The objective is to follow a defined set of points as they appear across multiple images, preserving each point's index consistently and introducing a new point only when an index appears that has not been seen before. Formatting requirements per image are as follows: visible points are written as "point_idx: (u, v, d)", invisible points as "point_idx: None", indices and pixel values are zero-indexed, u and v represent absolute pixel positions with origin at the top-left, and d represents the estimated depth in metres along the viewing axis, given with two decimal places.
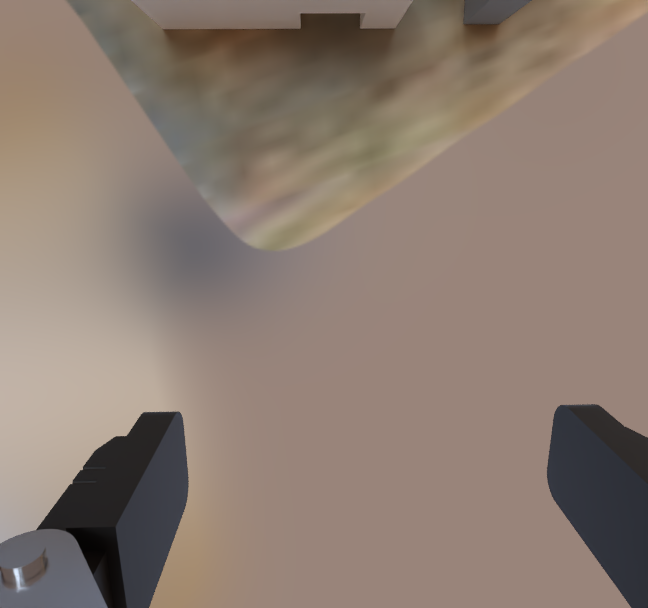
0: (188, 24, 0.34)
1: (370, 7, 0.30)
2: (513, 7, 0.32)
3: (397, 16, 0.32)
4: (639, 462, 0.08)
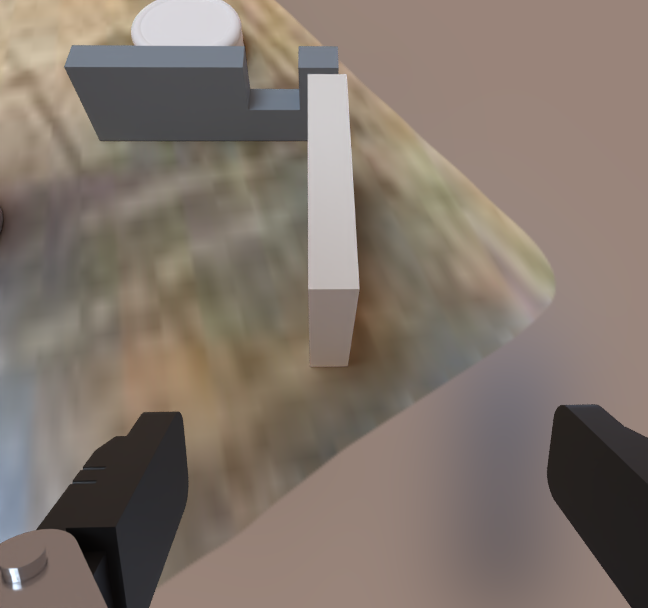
0: None
1: None
2: None
3: None
4: (639, 462, 0.08)
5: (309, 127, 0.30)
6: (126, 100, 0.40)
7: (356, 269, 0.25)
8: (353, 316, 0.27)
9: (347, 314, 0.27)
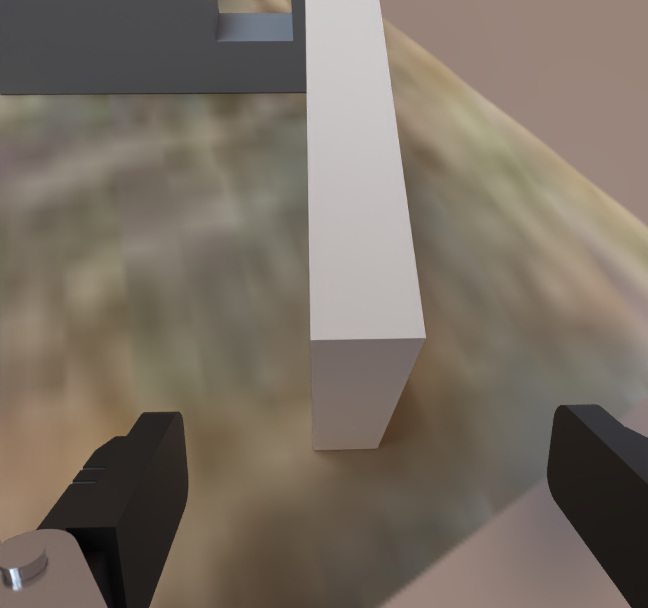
0: None
1: None
2: None
3: None
4: (639, 462, 0.08)
5: (308, 26, 0.16)
6: (27, 25, 0.26)
7: (415, 293, 0.12)
8: (401, 384, 0.14)
9: (389, 382, 0.13)
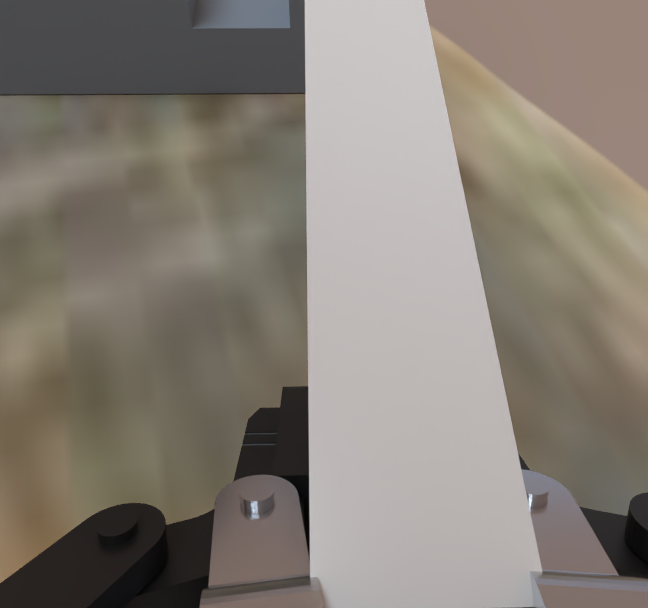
0: None
1: None
2: None
3: None
4: None
5: None
6: None
7: (517, 491, 0.06)
8: None
9: None
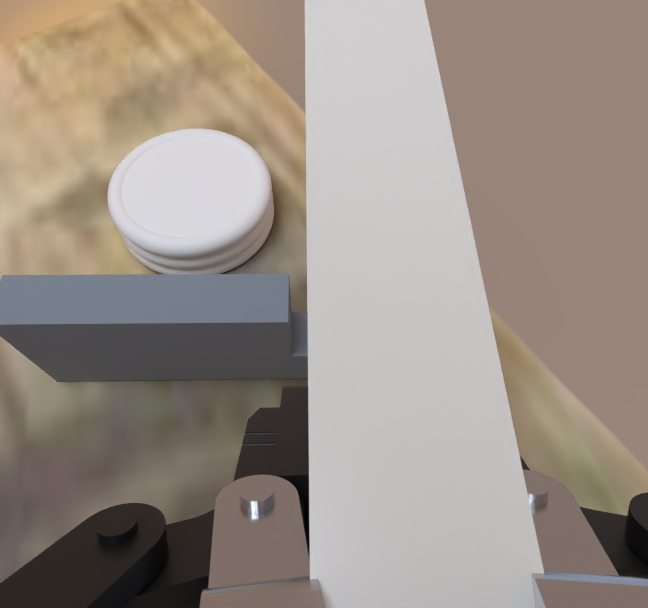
0: None
1: None
2: None
3: None
4: None
5: None
6: (95, 351, 0.24)
7: (519, 496, 0.06)
8: None
9: None
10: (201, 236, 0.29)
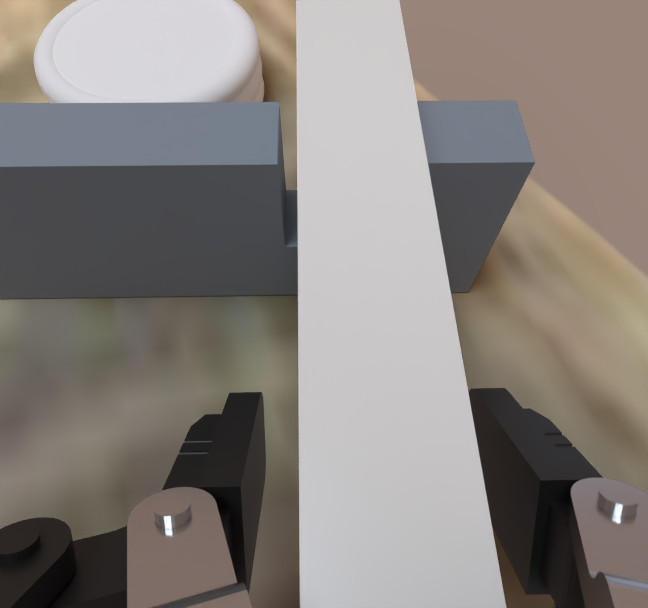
0: None
1: None
2: None
3: None
4: (522, 437, 0.09)
5: (301, 55, 0.11)
6: None
7: (488, 552, 0.06)
8: None
9: None
10: (160, 100, 0.21)
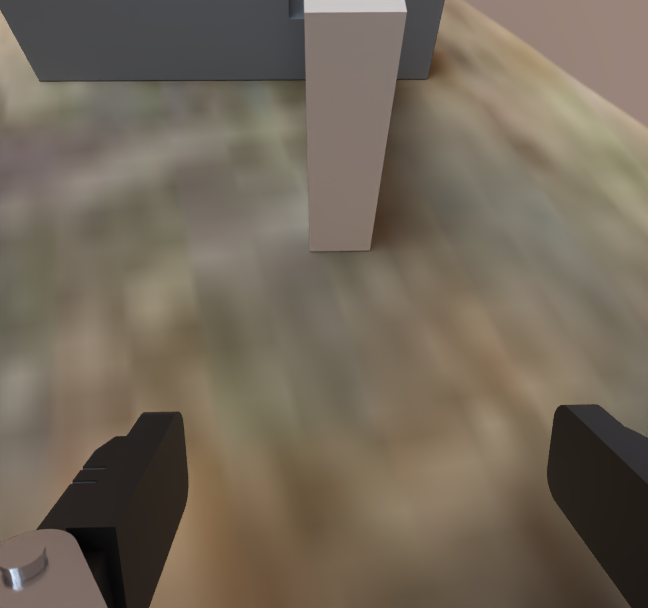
0: None
1: None
2: None
3: None
4: (639, 462, 0.08)
5: None
6: (76, 0, 0.23)
7: None
8: (388, 110, 0.15)
9: (376, 104, 0.15)
10: None
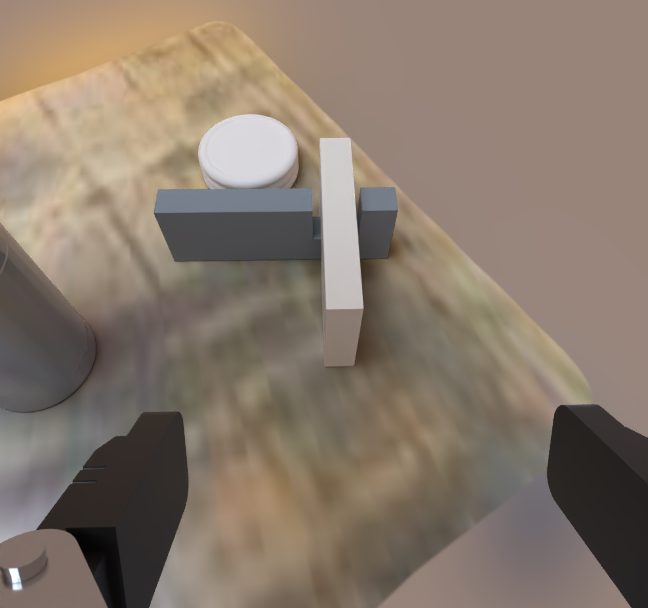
0: None
1: None
2: None
3: None
4: (639, 462, 0.08)
5: (322, 182, 0.39)
6: (204, 234, 0.44)
7: (361, 294, 0.34)
8: (358, 328, 0.36)
9: (354, 326, 0.36)
10: (257, 177, 0.49)
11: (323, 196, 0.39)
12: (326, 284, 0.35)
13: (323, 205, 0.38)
